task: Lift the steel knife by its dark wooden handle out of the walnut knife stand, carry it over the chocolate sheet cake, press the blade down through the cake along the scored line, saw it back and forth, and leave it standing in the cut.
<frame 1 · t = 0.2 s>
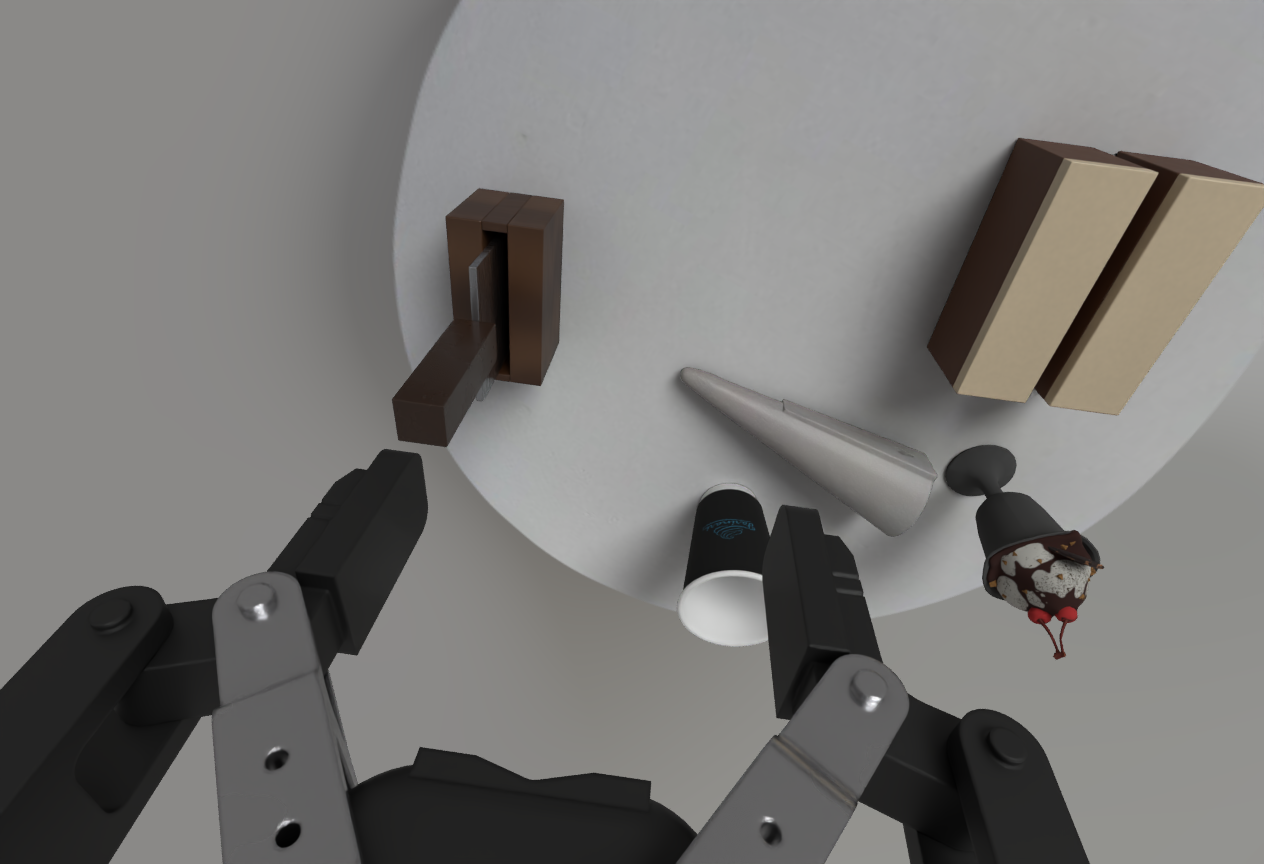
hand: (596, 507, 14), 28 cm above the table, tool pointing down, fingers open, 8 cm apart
long tapered cone: (788, 431, 46), on the table
dixie cup: (728, 503, 51), on the table
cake: (1045, 263, 37), on the table
sundae: (979, 469, 47), on the table
knife: (481, 330, 33), in the knife stand
knife stand: (521, 271, 41), on the table
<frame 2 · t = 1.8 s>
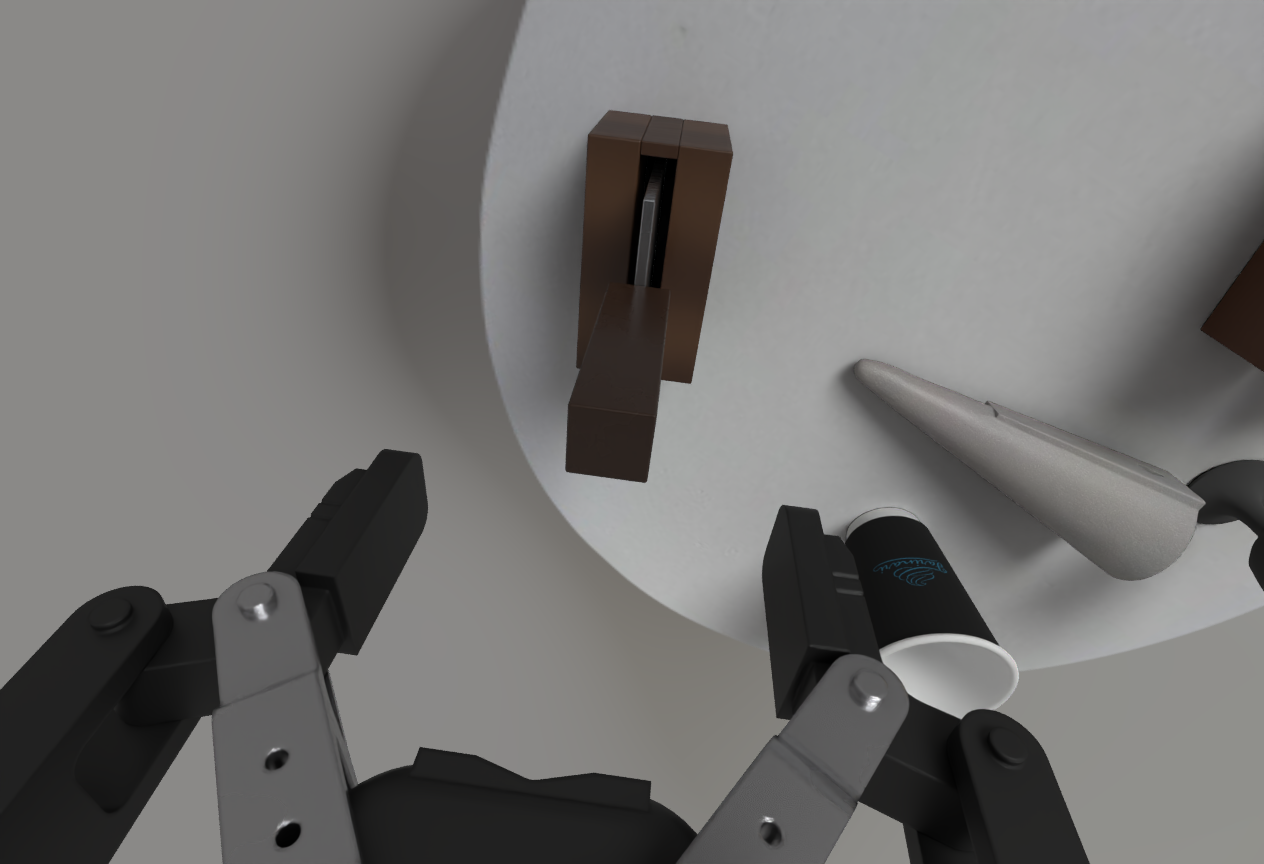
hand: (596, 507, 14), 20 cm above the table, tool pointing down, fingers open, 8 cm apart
long tapered cone: (980, 442, 36), on the table
dixie cup: (882, 532, 40), on the table
sundae: (1226, 490, 36), on the table
knife: (639, 302, 23), in the knife stand
knife stand: (654, 229, 30), on the table
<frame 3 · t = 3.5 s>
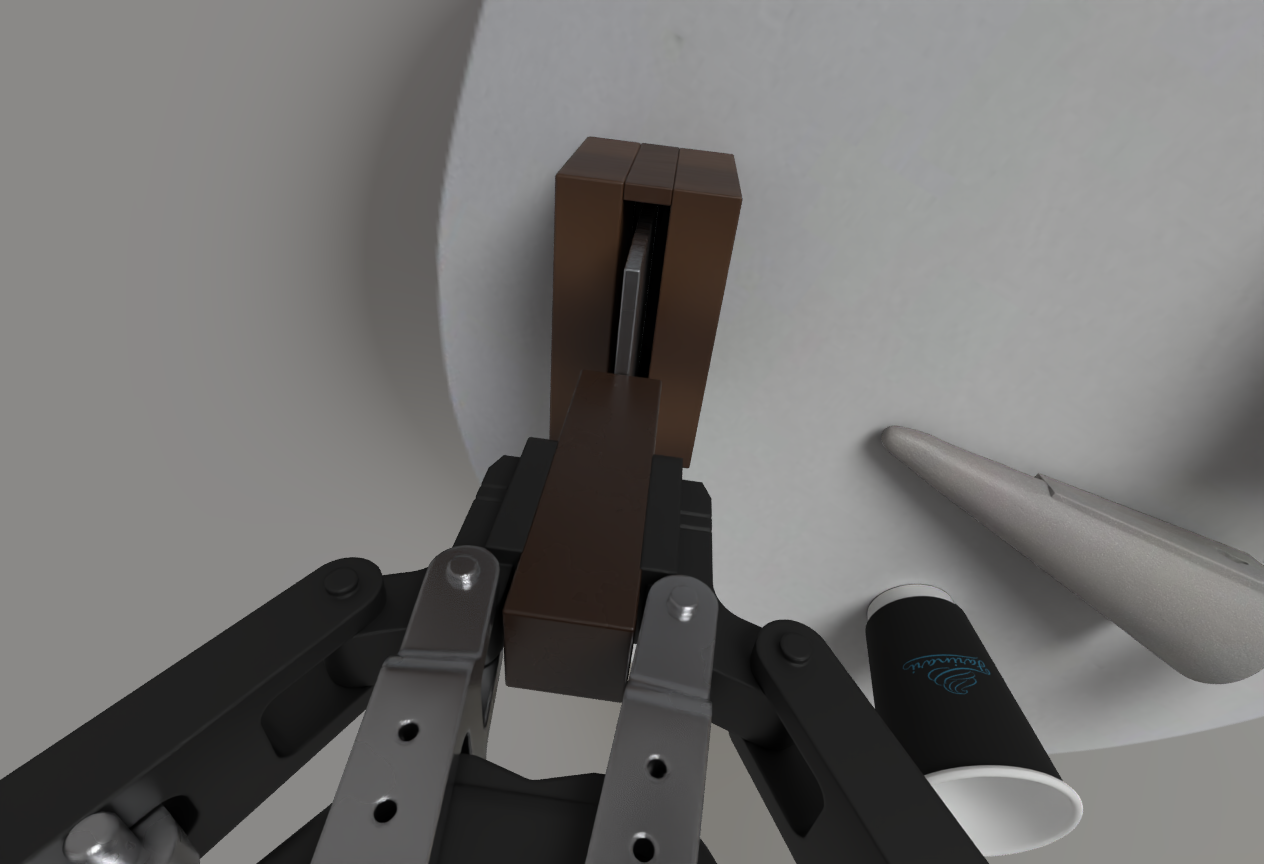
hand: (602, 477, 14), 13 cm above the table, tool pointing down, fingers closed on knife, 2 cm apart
long tapered cone: (1026, 516, 31), on the table
dixie cup: (909, 609, 35), on the table
knife: (622, 389, 18), in the knife stand, touching gripper
knife stand: (645, 276, 25), on the table
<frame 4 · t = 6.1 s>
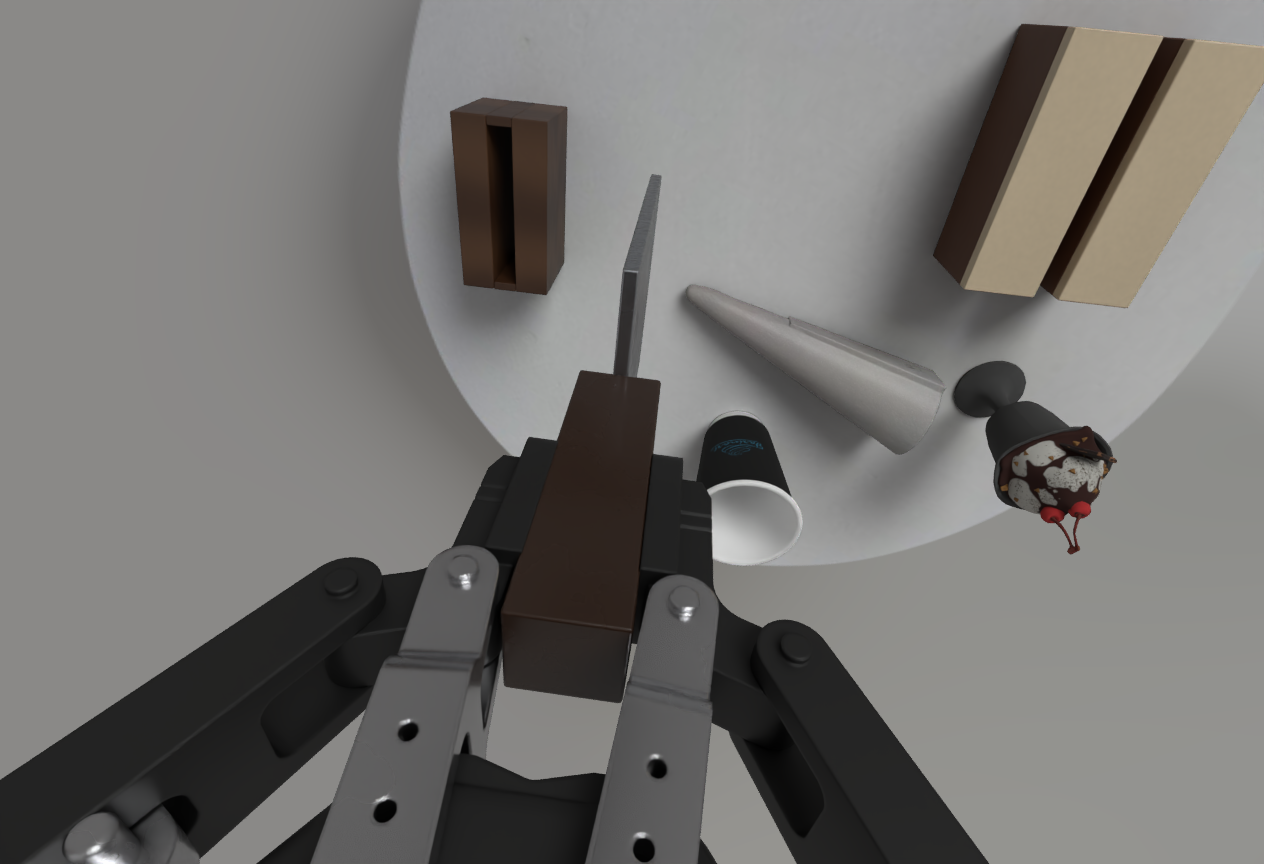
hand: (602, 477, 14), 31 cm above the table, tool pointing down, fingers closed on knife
long tapered cone: (794, 353, 46), on the table
dixie cup: (736, 433, 51), on the table
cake: (1051, 160, 37), on the table
sundae: (988, 388, 46), on the table
knife: (621, 389, 18), point 27 cm above the table, touching gripper
knife stand: (525, 185, 41), on the table
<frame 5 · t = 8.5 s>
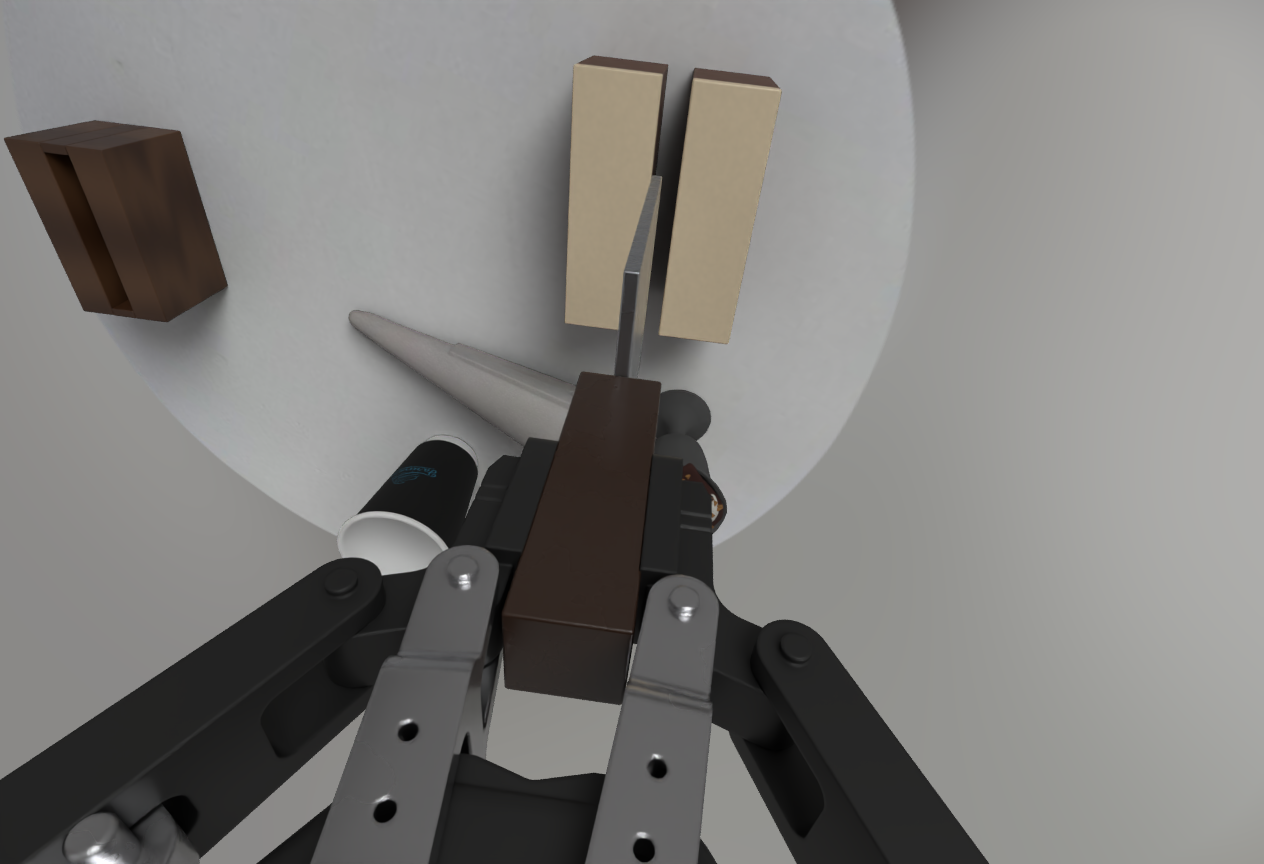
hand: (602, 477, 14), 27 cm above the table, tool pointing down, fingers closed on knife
long tapered cone: (481, 379, 45), on the table
dixie cup: (450, 457, 50), on the table
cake: (665, 191, 36), on the table
sundae: (678, 416, 46), on the table
knife: (621, 390, 18), point 23 cm above the table, touching gripper
knife stand: (166, 209, 40), on the table
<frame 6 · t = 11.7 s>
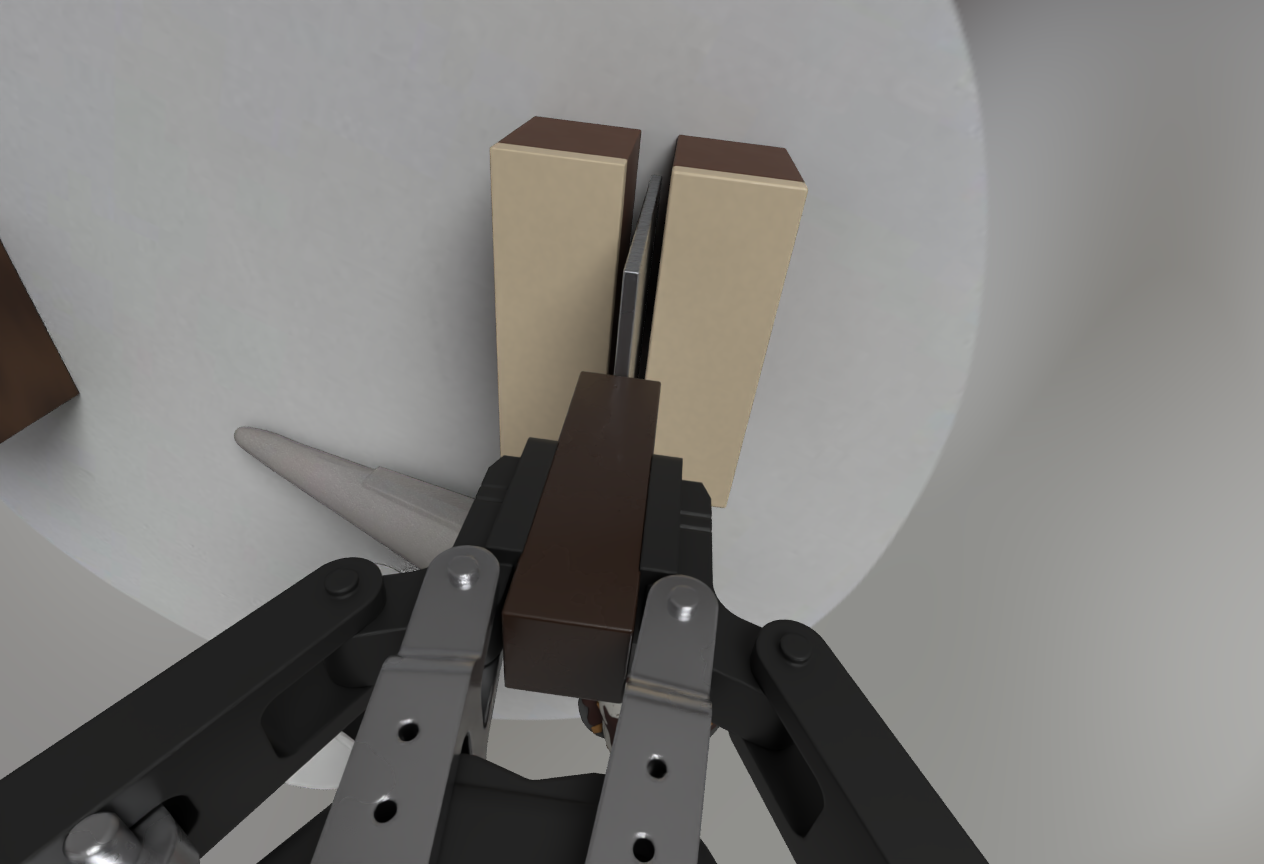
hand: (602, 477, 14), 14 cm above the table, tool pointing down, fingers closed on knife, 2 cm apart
long tapered cone: (412, 504, 36), on the table
dixie cup: (382, 585, 41), on the table
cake: (641, 293, 27), on the table
sundae: (662, 550, 36), on the table
knife: (621, 390, 18), point 10 cm above the table, touching gripper
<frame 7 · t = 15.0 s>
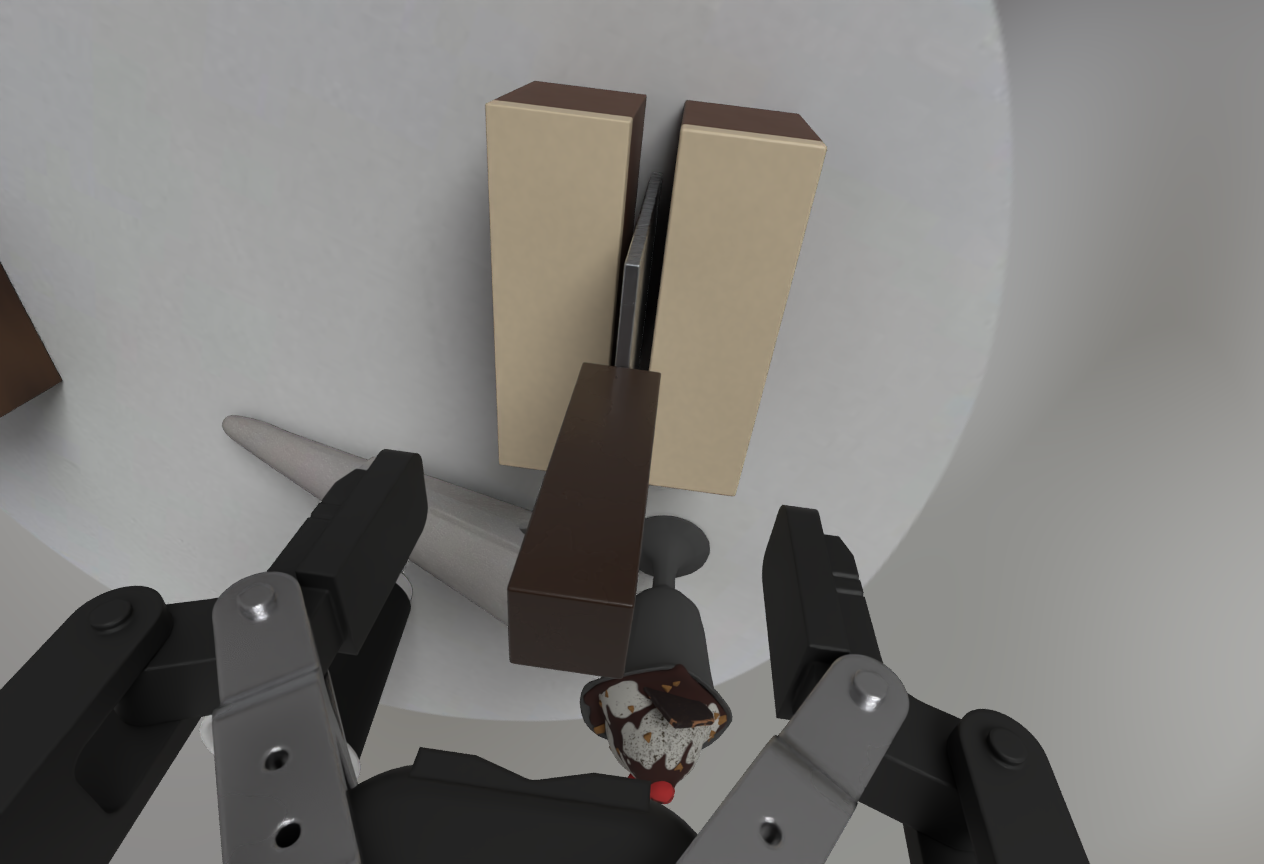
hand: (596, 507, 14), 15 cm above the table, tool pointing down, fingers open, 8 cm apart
long tapered cone: (408, 496, 35), on the table
dixie cup: (377, 581, 39), on the table
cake: (645, 271, 25), on the table
sundae: (666, 544, 35), on the table
knife: (622, 381, 18), resting in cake
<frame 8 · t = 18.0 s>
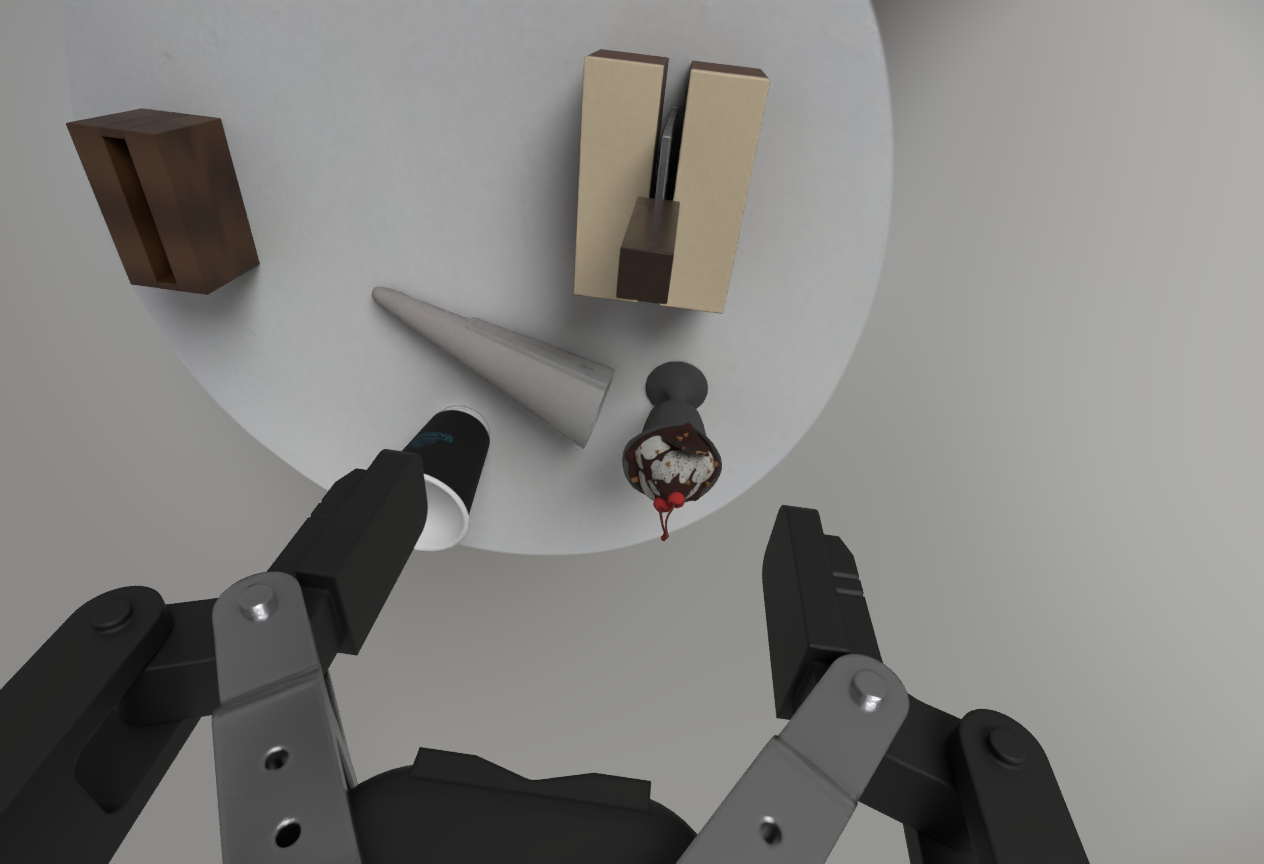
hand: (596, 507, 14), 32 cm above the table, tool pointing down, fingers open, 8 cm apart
long tapered cone: (493, 352, 49), on the table
dixie cup: (463, 427, 53), on the table
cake: (666, 174, 40), on the table
sundae: (677, 387, 49), on the table
knife: (657, 214, 32), resting in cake
knife stand: (204, 191, 43), on the table
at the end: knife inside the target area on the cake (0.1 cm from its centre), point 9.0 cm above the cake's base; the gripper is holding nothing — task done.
